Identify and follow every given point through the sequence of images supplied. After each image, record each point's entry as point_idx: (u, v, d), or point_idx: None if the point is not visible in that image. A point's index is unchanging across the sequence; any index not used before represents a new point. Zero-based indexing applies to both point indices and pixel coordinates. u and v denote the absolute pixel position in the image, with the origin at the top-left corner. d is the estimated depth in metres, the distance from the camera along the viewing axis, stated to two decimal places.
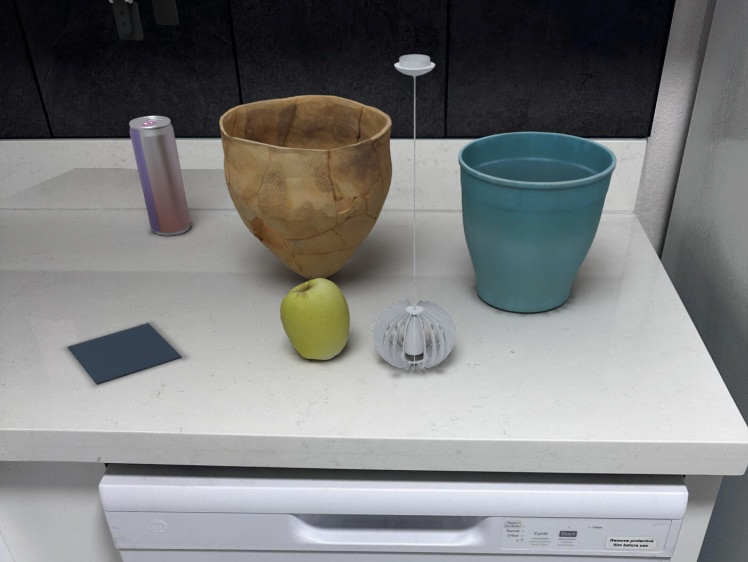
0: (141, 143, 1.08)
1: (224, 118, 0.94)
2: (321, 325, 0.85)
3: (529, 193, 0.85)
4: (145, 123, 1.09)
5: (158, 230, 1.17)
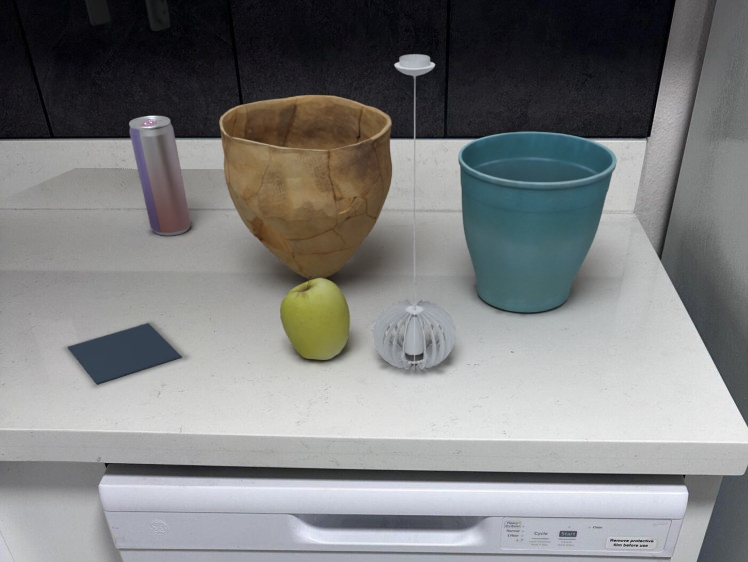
0: (141, 143, 1.08)
1: (224, 118, 0.94)
2: (321, 325, 0.85)
3: (529, 193, 0.85)
4: (145, 123, 1.09)
5: (158, 230, 1.17)
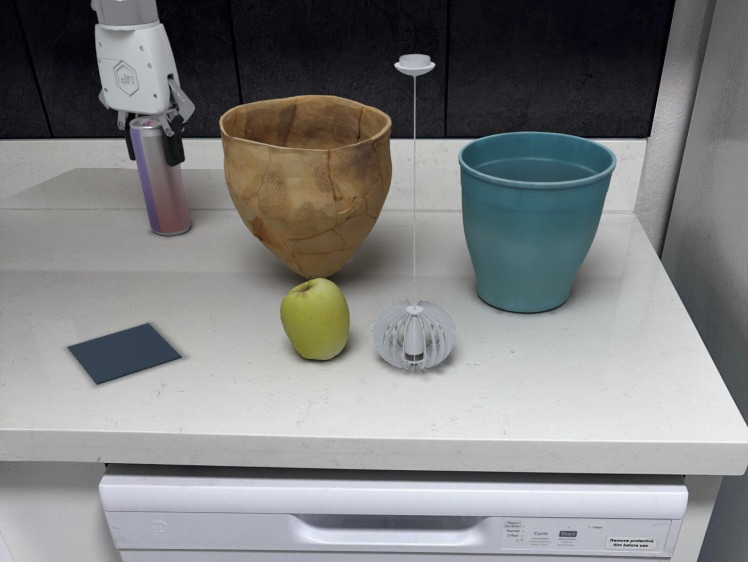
0: (141, 143, 1.08)
1: (224, 118, 0.94)
2: (321, 325, 0.85)
3: (529, 193, 0.85)
4: (145, 123, 1.09)
5: (158, 230, 1.17)
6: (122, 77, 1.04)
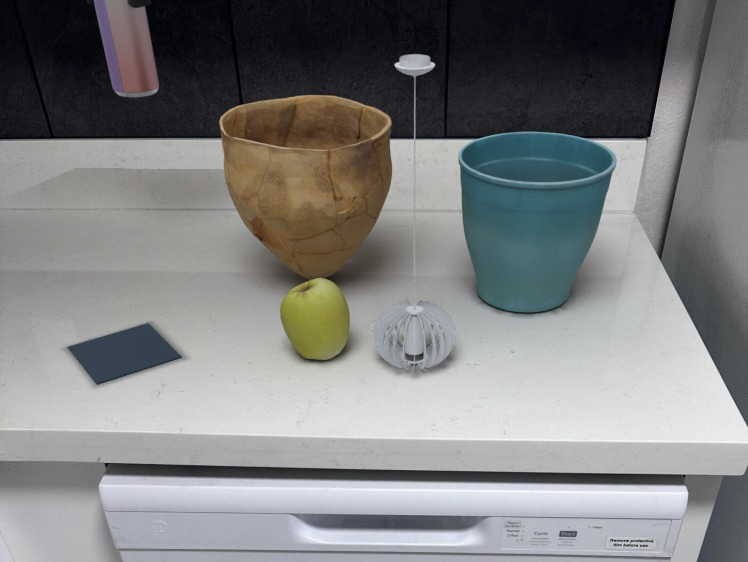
0: None
1: (224, 118, 0.94)
2: (321, 325, 0.85)
3: (529, 193, 0.85)
4: None
5: (121, 90, 1.02)
6: None
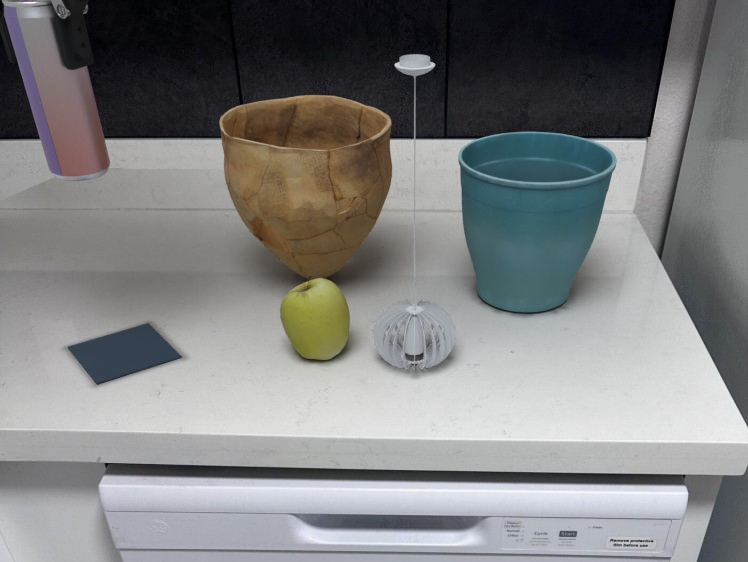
0: (21, 29, 0.69)
1: (224, 118, 0.94)
2: (321, 325, 0.85)
3: (529, 193, 0.85)
4: None
5: (58, 172, 0.78)
6: None
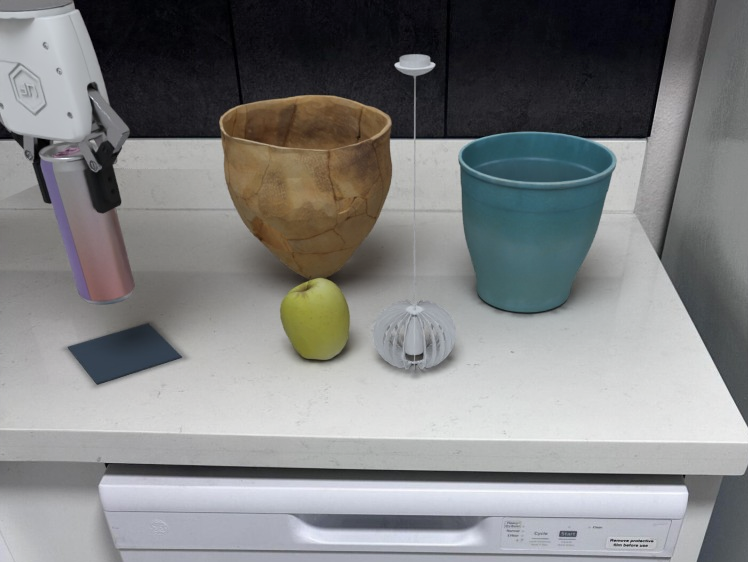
0: (56, 180, 0.76)
1: (224, 118, 0.94)
2: (321, 325, 0.85)
3: (529, 193, 0.85)
4: (62, 152, 0.77)
5: (88, 298, 0.84)
6: (22, 88, 0.71)
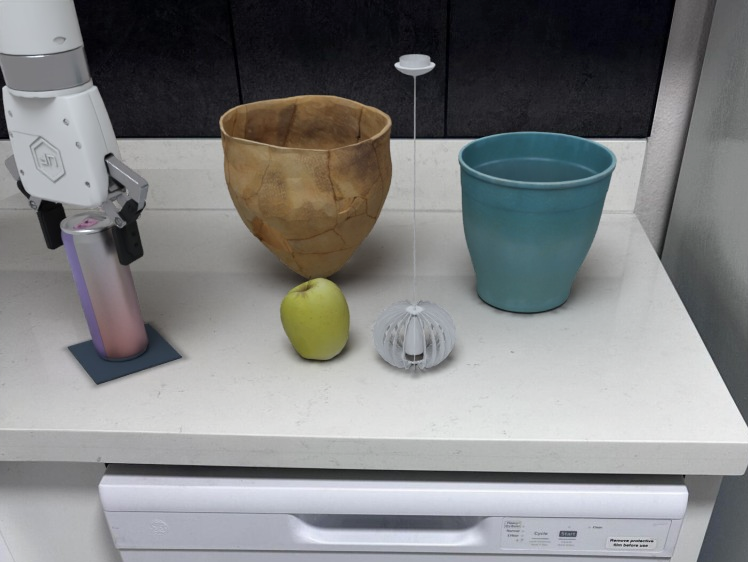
0: (76, 251, 0.81)
1: (224, 118, 0.94)
2: (321, 325, 0.85)
3: (529, 193, 0.85)
4: (82, 224, 0.81)
5: (104, 355, 0.89)
6: (42, 158, 0.75)
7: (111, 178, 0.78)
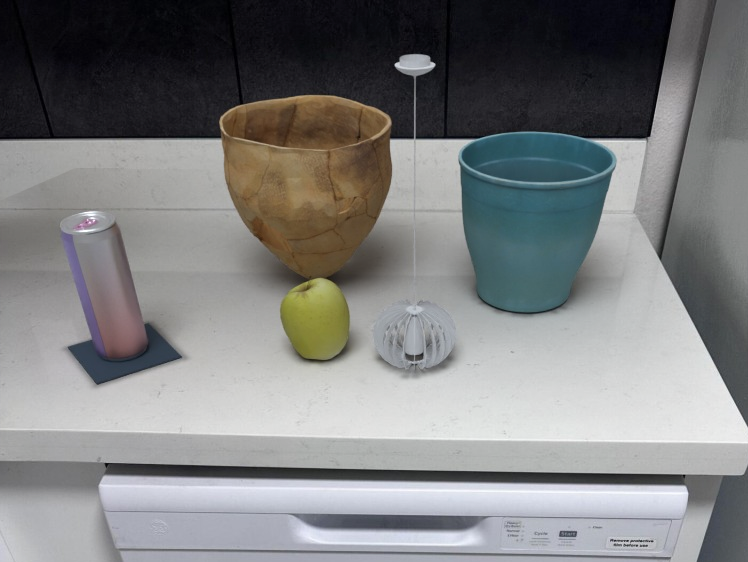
0: (76, 251, 0.81)
1: (224, 118, 0.94)
2: (321, 325, 0.85)
3: (529, 193, 0.85)
4: (81, 224, 0.81)
5: (104, 355, 0.89)
6: None
7: None
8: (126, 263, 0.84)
